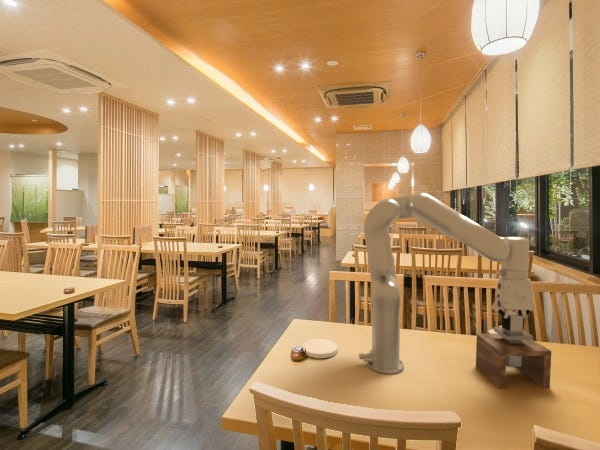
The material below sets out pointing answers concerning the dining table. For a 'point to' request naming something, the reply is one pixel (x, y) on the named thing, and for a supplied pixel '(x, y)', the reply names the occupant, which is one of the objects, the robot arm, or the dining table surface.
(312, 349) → the plastic lid
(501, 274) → the robot arm
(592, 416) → the dining table surface
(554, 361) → the dining table surface
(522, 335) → the collared peg
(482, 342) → the slotted bridge
